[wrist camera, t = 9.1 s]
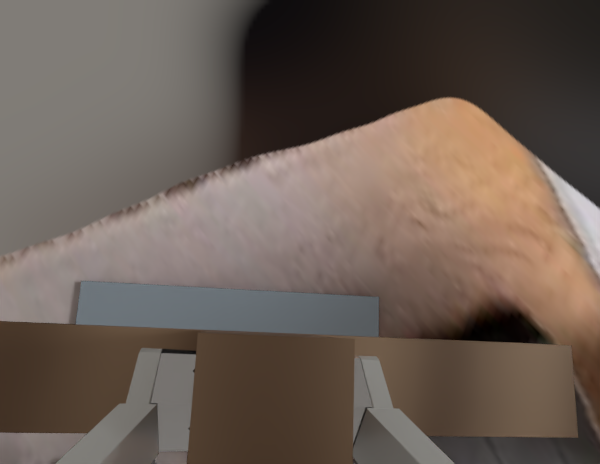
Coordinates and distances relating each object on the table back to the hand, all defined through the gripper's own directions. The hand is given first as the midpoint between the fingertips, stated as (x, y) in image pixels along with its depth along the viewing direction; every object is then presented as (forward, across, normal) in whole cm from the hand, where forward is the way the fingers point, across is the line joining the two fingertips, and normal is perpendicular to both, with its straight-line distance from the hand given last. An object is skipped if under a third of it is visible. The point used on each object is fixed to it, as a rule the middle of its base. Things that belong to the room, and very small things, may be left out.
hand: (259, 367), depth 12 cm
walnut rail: (+3, 0, +4) cm, 5 cm away
